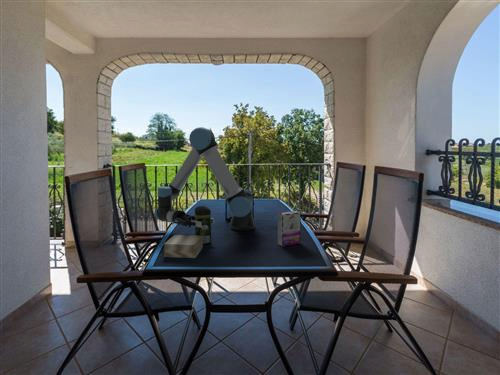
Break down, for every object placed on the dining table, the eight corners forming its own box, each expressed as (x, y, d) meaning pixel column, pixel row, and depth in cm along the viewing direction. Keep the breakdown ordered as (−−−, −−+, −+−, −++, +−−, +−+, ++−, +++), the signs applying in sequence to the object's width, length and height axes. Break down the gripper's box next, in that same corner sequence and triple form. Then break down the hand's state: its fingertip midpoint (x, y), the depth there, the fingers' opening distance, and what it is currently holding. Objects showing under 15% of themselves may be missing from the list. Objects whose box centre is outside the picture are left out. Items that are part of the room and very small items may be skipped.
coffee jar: (194, 239, 162) (193, 205, 160) (209, 238, 165) (208, 204, 162) (196, 245, 153) (196, 209, 151) (212, 244, 155) (212, 208, 153)
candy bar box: (294, 241, 161) (295, 210, 158) (300, 243, 156) (301, 212, 154) (276, 244, 156) (277, 212, 153) (282, 247, 151) (282, 214, 149)
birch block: (202, 247, 150) (202, 235, 149) (195, 258, 136) (194, 244, 135) (174, 246, 151) (174, 234, 150) (164, 256, 137) (164, 243, 136)
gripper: (191, 219, 178) (221, 225, 165) (161, 227, 160) (192, 235, 148) (191, 207, 177) (221, 212, 164) (161, 213, 159) (192, 219, 147)
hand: (207, 222), depth 156 cm, fingers closed on coffee jar, 8 cm apart
